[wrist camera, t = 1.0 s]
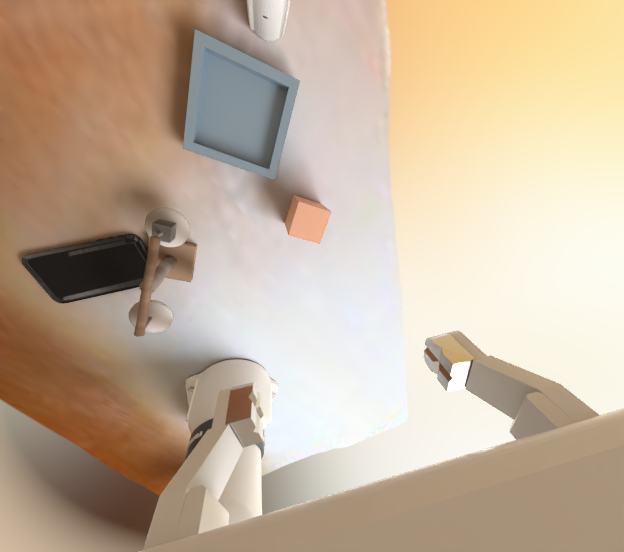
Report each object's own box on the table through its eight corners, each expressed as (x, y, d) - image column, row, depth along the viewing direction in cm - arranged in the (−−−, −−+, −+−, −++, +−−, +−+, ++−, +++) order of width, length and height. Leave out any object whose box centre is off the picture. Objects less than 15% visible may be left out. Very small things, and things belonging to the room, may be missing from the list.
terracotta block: (311, 231, 37) (319, 243, 32) (284, 223, 36) (288, 235, 31) (321, 203, 36) (331, 212, 30) (293, 194, 34) (298, 201, 29)
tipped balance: (188, 306, 39) (164, 355, 29) (147, 299, 37) (107, 350, 28) (202, 210, 33) (176, 233, 23) (153, 197, 31) (104, 215, 21)
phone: (161, 281, 36) (57, 305, 34) (164, 278, 37) (63, 300, 35) (134, 233, 32) (16, 257, 30) (138, 230, 33) (23, 253, 31)
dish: (273, 178, 33) (274, 180, 30) (188, 149, 29) (182, 148, 27) (297, 86, 28) (299, 80, 26) (200, 39, 25) (194, 28, 23)
